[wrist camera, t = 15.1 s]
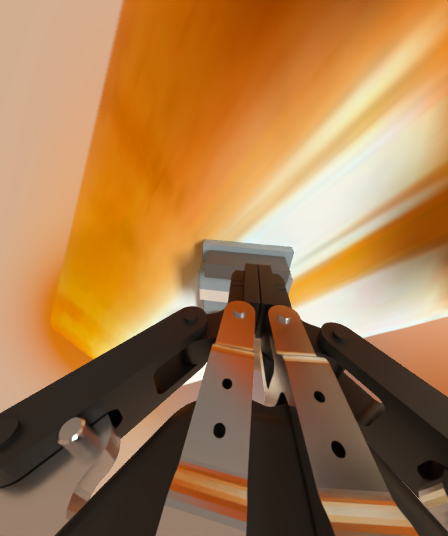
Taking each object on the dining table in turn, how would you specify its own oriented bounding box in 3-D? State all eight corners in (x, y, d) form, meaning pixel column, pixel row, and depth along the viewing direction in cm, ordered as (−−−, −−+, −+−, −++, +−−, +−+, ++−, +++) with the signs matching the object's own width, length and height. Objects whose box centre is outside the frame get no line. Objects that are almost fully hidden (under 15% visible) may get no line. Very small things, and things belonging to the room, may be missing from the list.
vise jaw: (202, 249, 25) (196, 262, 22) (292, 257, 25) (299, 272, 22) (203, 289, 29) (197, 305, 26) (281, 298, 28) (285, 316, 25)
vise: (205, 239, 26) (198, 252, 23) (291, 247, 26) (298, 261, 22) (205, 339, 38) (201, 357, 35) (265, 347, 37) (266, 366, 34)
